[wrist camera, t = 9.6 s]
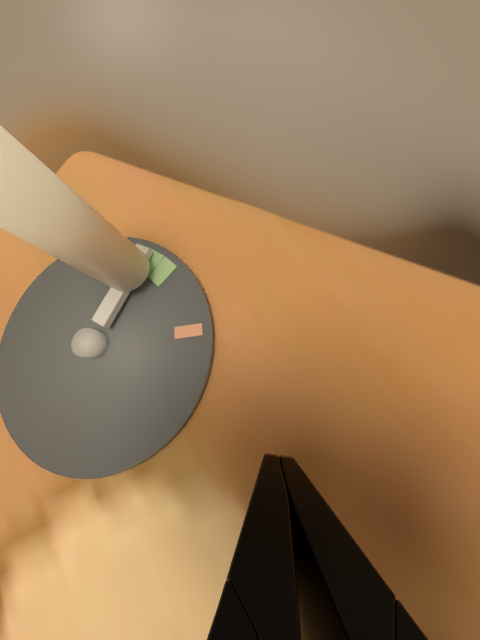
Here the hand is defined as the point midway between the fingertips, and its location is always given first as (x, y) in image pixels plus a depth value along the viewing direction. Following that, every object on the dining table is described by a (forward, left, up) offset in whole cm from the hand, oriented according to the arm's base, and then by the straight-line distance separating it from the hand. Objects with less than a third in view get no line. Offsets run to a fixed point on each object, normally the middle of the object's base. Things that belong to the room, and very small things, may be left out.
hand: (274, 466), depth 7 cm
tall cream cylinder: (+6, +16, -11) cm, 20 cm away
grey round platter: (0, +17, -12) cm, 21 cm away
